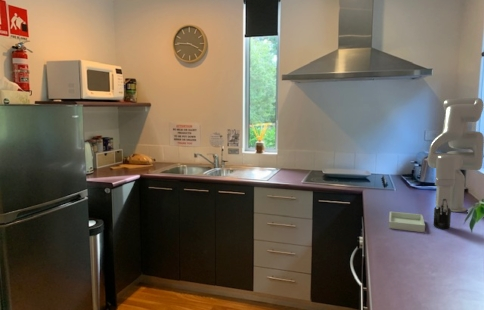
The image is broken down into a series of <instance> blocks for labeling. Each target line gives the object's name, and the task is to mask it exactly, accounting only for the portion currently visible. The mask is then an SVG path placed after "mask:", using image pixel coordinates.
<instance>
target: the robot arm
mask: <svg viewBox="0 0 484 310" xmlns="http://www.w3.org/2000/svg"><path fill="white" fill-rule="evenodd" d="M442 107H443V111H444V113H445V114H444V118H443V119H444V120H443V126H442V132H441V133H440V134H439V135H438V136H436V137H435V138H434V139H433V141H432V142H431V143H430V145H429V149H428V154H427V155H428V156H427V164H428V166H429V167H430V168H431V169H435V179H434V186H436V191H435V192H436V193H435V203H434V204H435V207H436V206H437V208H439V207H440V214H439V223H447V217H448V215H447V209H448V208H450V209H451V213H452V212H454V213H462V212H463V213H464V212H466V211H467V208H466V207H465V206H464V200H465V198H464V196H465V184H466V183H465V182H466V177H465V175H464V174H463V172H462V171H461V170H464V171H465V170H466V171H479V170H481V169H482V166H483V164H484V163H483V161H484V134H483V132H481V131H476V130H475V131H473V130H469V129H468V127H469V123H476V122H478V121H480V118H481V117H482V114H483V112H484V111H483V110H484V100H483V99H482V98H480V97H479V98H478V97H456V98H455V97H454V98H447V99H445V100H444V102H443V106H442ZM446 143H447V144H448V146H449V147H450V148H451V149H457V150H452V151H450V150H449V151H447V152H437V149H438V148H439V147H440V146H442V145H444V144H446ZM459 149H460V150H470V151H459ZM441 206H443V207H441Z"/></svg>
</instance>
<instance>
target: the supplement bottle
mask: <svg viewBox="0 0 484 310" xmlns="http://www.w3.org/2000/svg"><path fill="white" fill-rule="evenodd" d="M441 207H443V206H441ZM439 214H440V207H439V208H437V206H436V205H435V207H434V209H433V227H434V228H436V229H438V230H439V229H440V230H450V228H451V221H452V220H451V219H452V218H451V217H452V211H451V209H450V208H448V209H447V215H448V217H447V223H439Z"/></svg>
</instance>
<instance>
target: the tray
mask: <svg viewBox="0 0 484 310" xmlns="http://www.w3.org/2000/svg"><path fill="white" fill-rule="evenodd" d="M388 229H395V230H400V231H401V230H402V231H410V232H418V233H419V232H420V233H425V229H426V224H425V220H424V217H423V214H419V213H408V212H398V211H397V212H396V211H389V217H388Z"/></svg>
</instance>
